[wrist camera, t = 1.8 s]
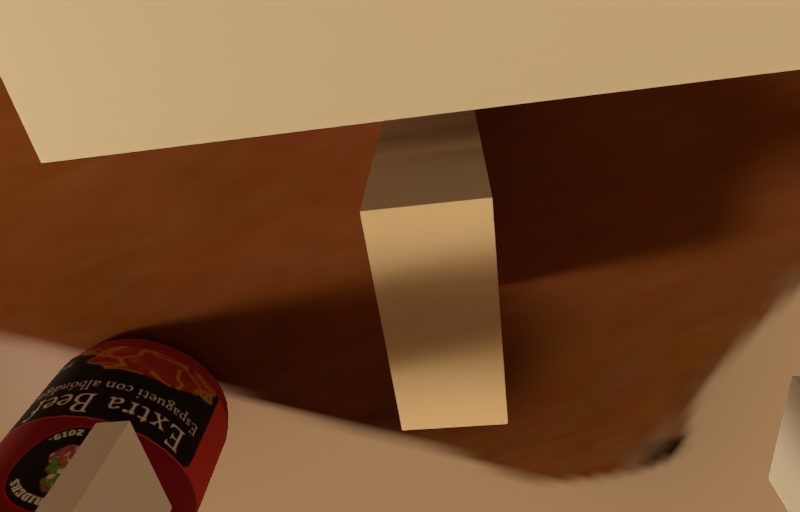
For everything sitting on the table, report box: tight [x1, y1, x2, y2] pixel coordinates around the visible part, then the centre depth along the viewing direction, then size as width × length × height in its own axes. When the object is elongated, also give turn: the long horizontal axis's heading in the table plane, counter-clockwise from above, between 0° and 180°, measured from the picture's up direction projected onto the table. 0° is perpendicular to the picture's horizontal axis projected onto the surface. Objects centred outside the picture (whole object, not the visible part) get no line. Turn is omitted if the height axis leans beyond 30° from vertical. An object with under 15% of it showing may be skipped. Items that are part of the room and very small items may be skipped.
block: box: [360, 110, 508, 430], centre depth 18 cm, size 7×3×7 cm, turn 8°
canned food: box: [0, 338, 228, 512], centre depth 22 cm, size 8×8×11 cm
